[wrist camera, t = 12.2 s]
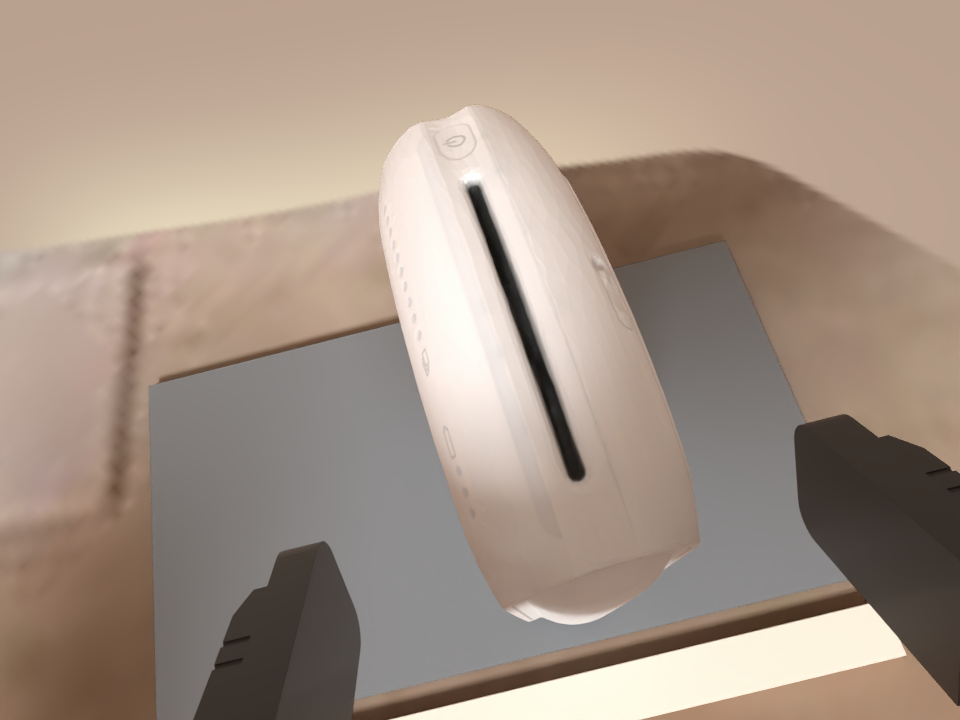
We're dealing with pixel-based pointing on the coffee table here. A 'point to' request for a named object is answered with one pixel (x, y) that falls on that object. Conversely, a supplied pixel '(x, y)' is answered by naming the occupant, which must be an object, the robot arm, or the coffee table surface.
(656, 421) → the photo printer
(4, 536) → the coffee table surface
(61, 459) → the coffee table surface
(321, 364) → the mat
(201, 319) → the coffee table surface
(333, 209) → the coffee table surface
